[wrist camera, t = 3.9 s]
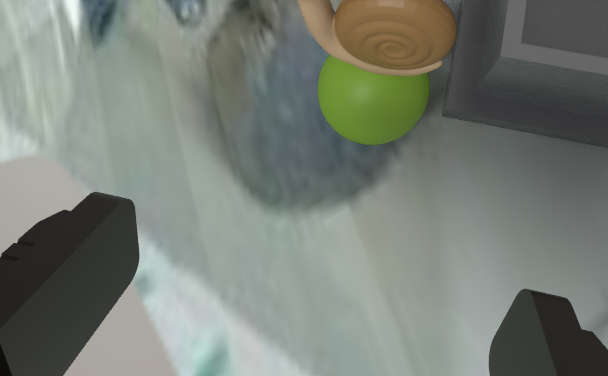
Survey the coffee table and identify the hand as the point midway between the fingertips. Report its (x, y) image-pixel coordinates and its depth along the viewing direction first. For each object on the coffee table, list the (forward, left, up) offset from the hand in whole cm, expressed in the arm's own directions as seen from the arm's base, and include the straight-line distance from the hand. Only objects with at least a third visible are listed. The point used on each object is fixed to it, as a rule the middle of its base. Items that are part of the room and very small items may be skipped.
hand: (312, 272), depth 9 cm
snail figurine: (0, +10, -14) cm, 17 cm away
